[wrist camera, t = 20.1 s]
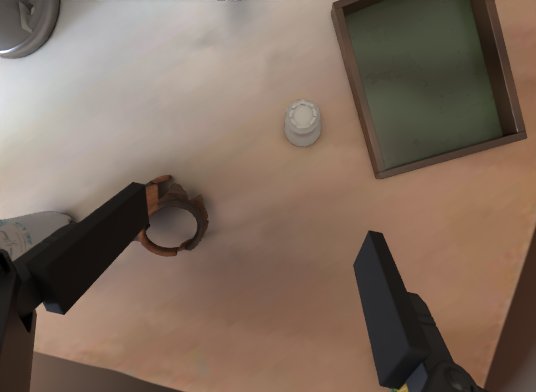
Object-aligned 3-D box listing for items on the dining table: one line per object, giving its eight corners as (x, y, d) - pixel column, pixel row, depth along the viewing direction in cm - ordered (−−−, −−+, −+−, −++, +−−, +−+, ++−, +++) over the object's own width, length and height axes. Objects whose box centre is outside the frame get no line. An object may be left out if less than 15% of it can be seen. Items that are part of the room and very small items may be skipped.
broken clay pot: (186, 158, 34) (187, 178, 27) (217, 213, 39) (225, 242, 31) (100, 198, 33) (77, 230, 26) (142, 250, 38) (133, 290, 30)
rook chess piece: (298, 154, 32) (296, 148, 24) (277, 125, 32) (269, 109, 24) (328, 132, 31) (337, 119, 23) (307, 102, 31) (309, 78, 23)
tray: (330, 14, 30) (332, 2, 28) (467, -39, 28) (481, -56, 26) (375, 178, 31) (380, 179, 29) (511, 140, 29) (528, 138, 27)
